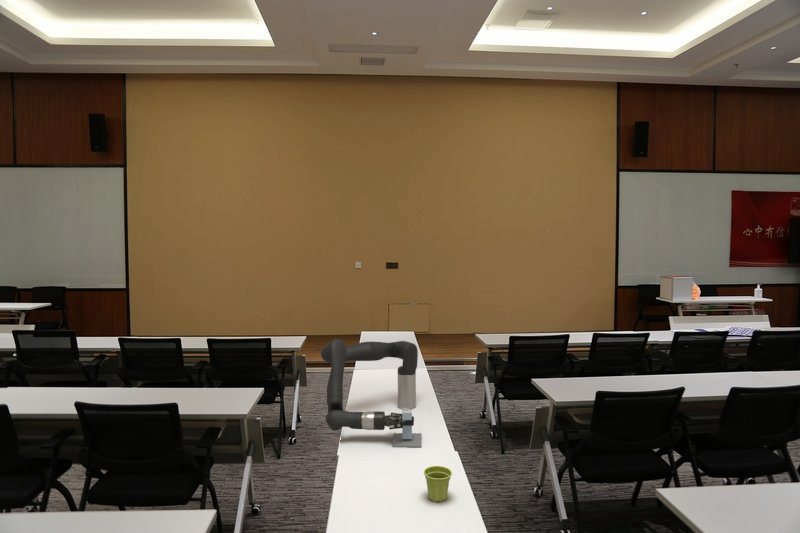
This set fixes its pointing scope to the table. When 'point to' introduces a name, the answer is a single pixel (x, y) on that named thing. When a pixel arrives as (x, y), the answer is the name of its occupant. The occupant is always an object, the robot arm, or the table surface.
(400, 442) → the mat
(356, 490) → the table surface
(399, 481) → the table surface
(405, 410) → the blue block
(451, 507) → the table surface
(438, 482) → the plant pot
